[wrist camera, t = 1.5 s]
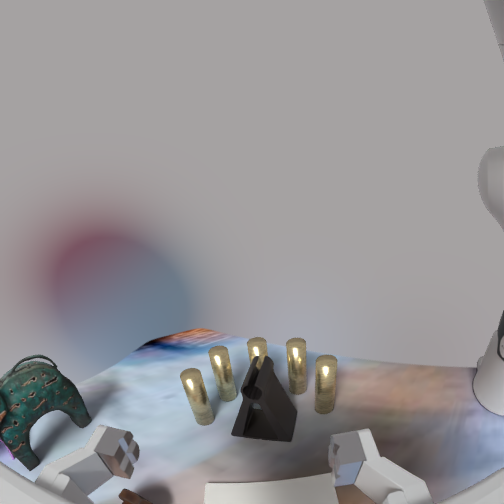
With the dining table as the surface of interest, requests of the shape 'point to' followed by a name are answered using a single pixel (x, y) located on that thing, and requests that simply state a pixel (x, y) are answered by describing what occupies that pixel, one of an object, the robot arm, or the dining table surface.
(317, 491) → the mat
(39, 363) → the green animal figurine
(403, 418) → the dining table surface
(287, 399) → the phone stand
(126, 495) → the bolt
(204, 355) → the dining table surface
